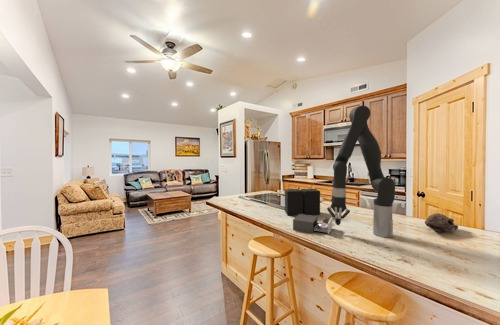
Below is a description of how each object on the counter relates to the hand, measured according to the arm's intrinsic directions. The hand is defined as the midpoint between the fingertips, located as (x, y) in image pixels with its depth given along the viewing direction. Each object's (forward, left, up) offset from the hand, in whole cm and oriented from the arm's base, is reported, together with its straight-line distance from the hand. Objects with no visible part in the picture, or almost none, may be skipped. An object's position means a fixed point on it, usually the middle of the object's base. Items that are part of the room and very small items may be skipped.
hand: (337, 224), depth 127 cm
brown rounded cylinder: (+9, -15, -5) cm, 18 cm away
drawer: (+9, -1, -4) cm, 10 cm away
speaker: (+30, -32, -5) cm, 44 cm away
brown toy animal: (-53, -29, -5) cm, 61 cm away
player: (+19, -1, -5) cm, 20 cm away
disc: (+9, 0, -3) cm, 9 cm away
